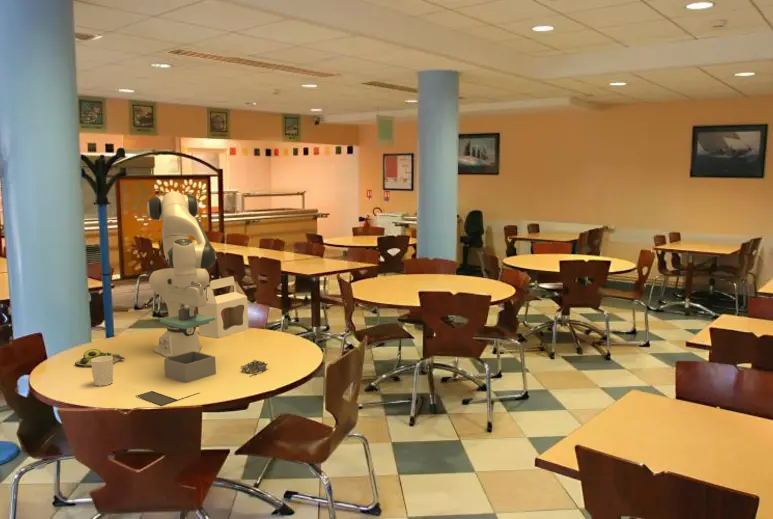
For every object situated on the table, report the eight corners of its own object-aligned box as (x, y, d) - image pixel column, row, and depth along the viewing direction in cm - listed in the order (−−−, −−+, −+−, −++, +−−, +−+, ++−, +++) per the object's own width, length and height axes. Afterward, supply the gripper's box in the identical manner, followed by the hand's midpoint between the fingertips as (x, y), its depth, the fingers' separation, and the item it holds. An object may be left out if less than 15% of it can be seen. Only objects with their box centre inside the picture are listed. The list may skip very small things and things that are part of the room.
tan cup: (96, 380, 256) (94, 356, 254) (117, 380, 256) (115, 355, 255) (89, 387, 248) (87, 362, 246) (110, 386, 249) (108, 361, 247)
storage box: (165, 378, 258) (164, 358, 257) (194, 369, 269) (193, 350, 268) (186, 385, 249) (185, 364, 248) (216, 375, 260) (215, 356, 259)
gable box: (230, 326, 344) (228, 274, 340) (249, 329, 337) (246, 276, 334) (198, 335, 325) (195, 280, 321) (217, 338, 318) (215, 282, 315)
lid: (160, 325, 255) (159, 309, 254) (192, 318, 267) (191, 303, 266) (183, 330, 246) (182, 314, 245) (215, 323, 258) (214, 307, 257)
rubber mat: (135, 396, 237) (135, 395, 237) (173, 385, 249) (173, 384, 249) (161, 406, 227) (161, 404, 227) (199, 393, 240) (199, 392, 240)
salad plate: (133, 356, 290) (133, 346, 289) (113, 369, 272) (112, 358, 271) (92, 356, 291) (92, 346, 291) (69, 368, 274) (69, 357, 273)
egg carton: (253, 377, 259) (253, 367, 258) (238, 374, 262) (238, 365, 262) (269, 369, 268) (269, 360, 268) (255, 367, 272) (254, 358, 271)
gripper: (208, 282, 250) (210, 317, 252) (177, 277, 262) (179, 310, 264) (195, 284, 245) (197, 320, 247) (163, 279, 257) (165, 313, 259)
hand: (187, 315), depth 256 cm, fingers closed on lid, 3 cm apart
